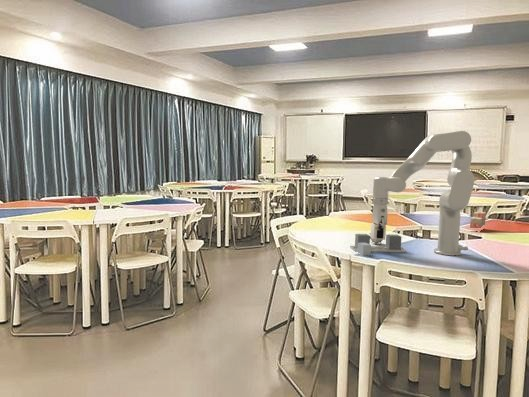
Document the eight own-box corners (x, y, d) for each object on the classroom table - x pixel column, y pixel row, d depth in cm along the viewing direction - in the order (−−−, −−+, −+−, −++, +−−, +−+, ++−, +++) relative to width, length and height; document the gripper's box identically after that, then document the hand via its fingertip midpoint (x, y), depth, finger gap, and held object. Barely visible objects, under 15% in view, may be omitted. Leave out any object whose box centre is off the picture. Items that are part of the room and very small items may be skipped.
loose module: (381, 237, 219) (382, 224, 219) (385, 239, 214) (386, 225, 214) (370, 237, 219) (371, 223, 218) (373, 239, 214) (374, 225, 213)
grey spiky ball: (374, 249, 237) (375, 233, 242) (388, 246, 231) (388, 230, 236) (364, 242, 232) (366, 226, 237) (378, 239, 226) (379, 223, 231)
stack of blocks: (479, 232, 287) (481, 214, 286) (469, 231, 290) (470, 213, 289) (484, 229, 304) (486, 212, 303) (475, 228, 308) (476, 211, 307)
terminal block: (364, 252, 210) (365, 242, 210) (370, 255, 204) (371, 245, 204) (357, 252, 209) (357, 242, 209) (362, 255, 203) (363, 245, 203)
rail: (399, 248, 222) (400, 233, 222) (406, 252, 213) (406, 236, 213) (349, 247, 221) (350, 232, 220) (354, 251, 212) (355, 235, 211)
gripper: (393, 203, 207) (391, 240, 208) (381, 200, 224) (379, 234, 225) (378, 202, 206) (376, 240, 208) (367, 199, 223) (365, 234, 225)
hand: (378, 236), depth 217 cm, fingers closed on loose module, 5 cm apart
